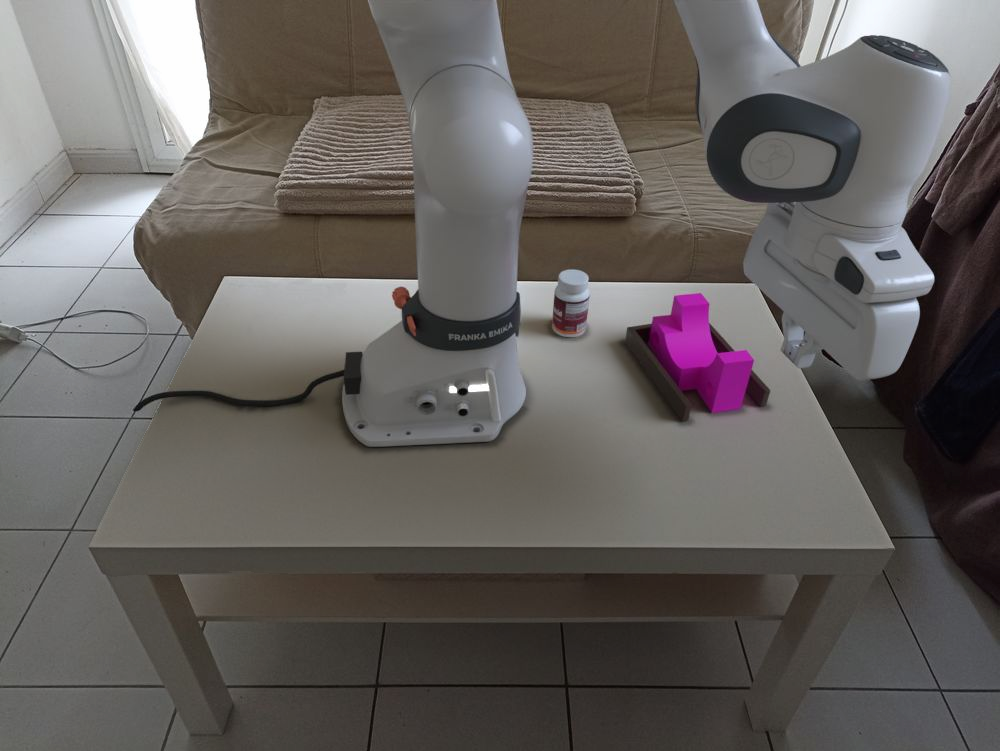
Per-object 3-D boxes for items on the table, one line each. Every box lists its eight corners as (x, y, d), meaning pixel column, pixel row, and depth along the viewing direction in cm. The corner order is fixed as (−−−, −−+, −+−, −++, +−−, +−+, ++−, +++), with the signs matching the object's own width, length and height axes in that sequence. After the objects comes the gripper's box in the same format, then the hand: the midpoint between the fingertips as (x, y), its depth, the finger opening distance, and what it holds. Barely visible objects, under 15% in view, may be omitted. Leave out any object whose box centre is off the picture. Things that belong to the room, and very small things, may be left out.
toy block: (648, 344, 102) (656, 297, 98) (690, 339, 103) (701, 292, 99) (692, 415, 91) (704, 365, 86) (740, 409, 92) (754, 360, 87)
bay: (682, 422, 90) (686, 405, 88) (624, 342, 103) (627, 327, 101) (766, 406, 92) (771, 390, 91) (699, 330, 105) (702, 315, 104)
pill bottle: (548, 320, 106) (552, 268, 101) (581, 318, 107) (586, 266, 102) (555, 339, 103) (560, 287, 98) (589, 337, 103) (595, 284, 98)
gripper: (747, 189, 74) (715, 308, 82) (886, 297, 59) (830, 429, 67) (801, 185, 76) (765, 301, 84) (951, 289, 60) (888, 418, 69)
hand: (795, 359), depth 76 cm, fingers closed
